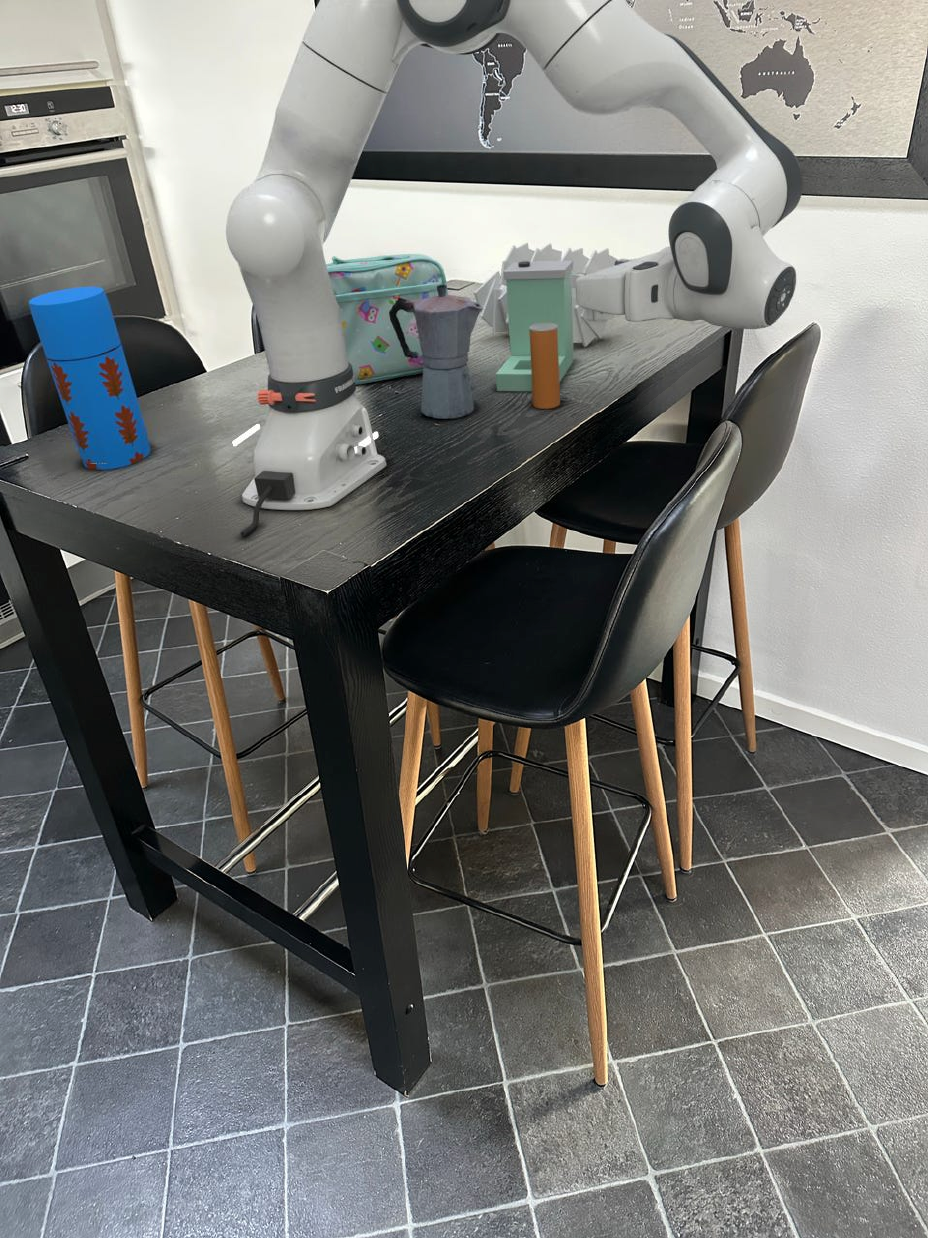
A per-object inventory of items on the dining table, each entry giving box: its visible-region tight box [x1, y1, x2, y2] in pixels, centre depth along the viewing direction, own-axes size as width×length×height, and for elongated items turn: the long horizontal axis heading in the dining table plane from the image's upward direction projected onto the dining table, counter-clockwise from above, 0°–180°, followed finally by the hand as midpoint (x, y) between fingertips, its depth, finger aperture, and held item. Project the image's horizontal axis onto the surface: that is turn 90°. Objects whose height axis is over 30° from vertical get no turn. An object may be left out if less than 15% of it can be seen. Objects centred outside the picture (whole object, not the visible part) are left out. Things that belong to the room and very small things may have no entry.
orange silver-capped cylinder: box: [529, 323, 561, 410], centre depth 145 cm, size 4×4×12 cm
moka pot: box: [389, 285, 483, 420], centre depth 144 cm, size 10×15×20 cm, turn 78°
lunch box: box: [326, 253, 449, 386], centre depth 163 cm, size 27×10×21 cm, turn 102°
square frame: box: [495, 355, 567, 392], centre depth 157 cm, size 10×10×3 cm
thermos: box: [28, 286, 151, 471], centre depth 139 cm, size 11×11×25 cm
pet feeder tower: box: [504, 260, 575, 373], centre depth 160 cm, size 7×11×18 cm, turn 73°
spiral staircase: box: [473, 242, 619, 348], centre depth 174 cm, size 18×18×25 cm
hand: (595, 272), depth 129 cm, fingers open, 8 cm apart
